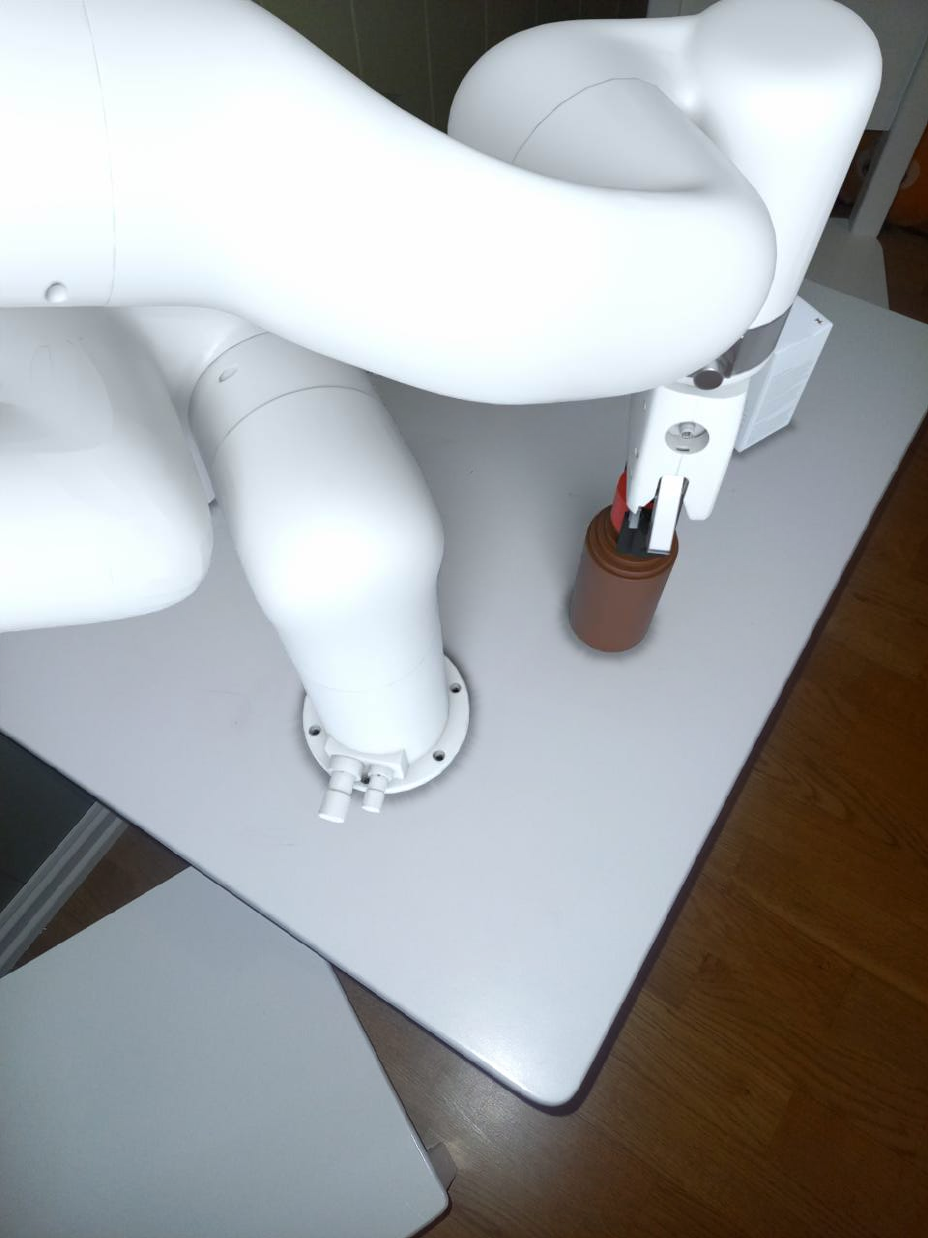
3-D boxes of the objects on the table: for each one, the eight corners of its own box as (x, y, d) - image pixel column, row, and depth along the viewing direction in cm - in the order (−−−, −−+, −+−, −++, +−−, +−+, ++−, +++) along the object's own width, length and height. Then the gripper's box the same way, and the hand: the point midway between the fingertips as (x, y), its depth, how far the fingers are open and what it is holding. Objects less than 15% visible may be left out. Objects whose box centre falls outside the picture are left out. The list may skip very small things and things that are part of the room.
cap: (658, 489, 57) (667, 458, 54) (677, 535, 55) (688, 505, 52) (603, 499, 57) (610, 469, 54) (620, 546, 55) (628, 517, 52)
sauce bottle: (657, 647, 67) (709, 528, 52) (577, 657, 66) (607, 540, 52) (639, 578, 70) (683, 447, 55) (562, 587, 69) (587, 458, 55)
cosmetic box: (757, 395, 79) (798, 291, 68) (788, 425, 77) (836, 323, 66) (706, 424, 77) (741, 322, 67) (737, 455, 76) (778, 355, 65)
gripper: (794, 450, 36) (697, 641, 52) (778, 199, 44) (698, 433, 60) (618, 434, 37) (576, 628, 53) (632, 189, 44) (592, 424, 61)
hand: (641, 522), depth 56 cm, fingers closed on cap, 3 cm apart
